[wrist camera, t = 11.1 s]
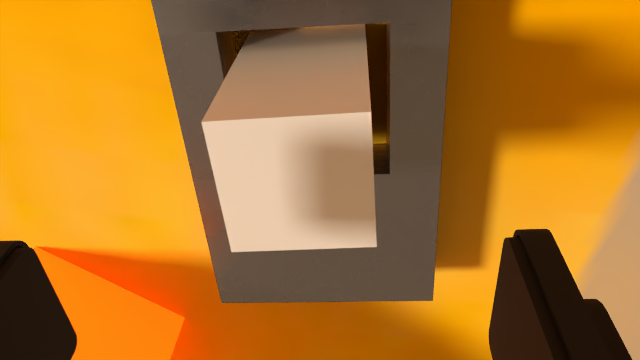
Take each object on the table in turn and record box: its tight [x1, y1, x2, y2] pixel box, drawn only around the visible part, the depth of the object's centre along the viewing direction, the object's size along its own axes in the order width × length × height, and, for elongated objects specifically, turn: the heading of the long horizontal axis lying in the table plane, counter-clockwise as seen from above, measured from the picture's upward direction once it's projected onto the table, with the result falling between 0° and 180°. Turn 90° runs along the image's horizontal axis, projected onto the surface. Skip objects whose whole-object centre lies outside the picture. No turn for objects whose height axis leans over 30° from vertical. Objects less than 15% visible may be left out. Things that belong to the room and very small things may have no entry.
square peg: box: [201, 24, 377, 252], centre depth 18 cm, size 4×4×8 cm
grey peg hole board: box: [151, 0, 452, 303], centre depth 21 cm, size 20×10×2 cm, turn 4°
